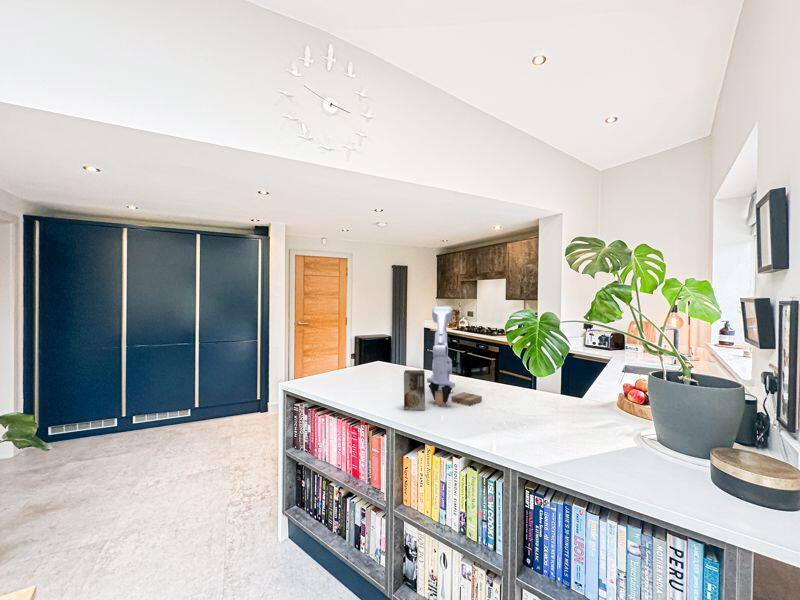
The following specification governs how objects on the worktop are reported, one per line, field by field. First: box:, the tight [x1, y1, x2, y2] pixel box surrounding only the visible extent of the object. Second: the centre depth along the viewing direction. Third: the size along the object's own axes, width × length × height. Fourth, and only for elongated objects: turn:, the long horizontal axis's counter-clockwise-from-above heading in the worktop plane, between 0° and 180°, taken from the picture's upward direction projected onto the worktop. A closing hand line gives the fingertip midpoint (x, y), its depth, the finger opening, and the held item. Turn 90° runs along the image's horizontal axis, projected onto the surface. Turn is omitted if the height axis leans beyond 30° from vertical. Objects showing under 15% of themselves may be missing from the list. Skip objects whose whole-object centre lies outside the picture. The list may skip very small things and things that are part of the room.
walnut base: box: [451, 392, 483, 407], centre depth 164 cm, size 10×10×2 cm
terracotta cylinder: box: [434, 390, 447, 407], centre depth 160 cm, size 5×5×6 cm
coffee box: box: [403, 369, 426, 411], centre depth 155 cm, size 9×6×16 cm
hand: (440, 400), depth 160 cm, fingers closed on terracotta cylinder, 5 cm apart
